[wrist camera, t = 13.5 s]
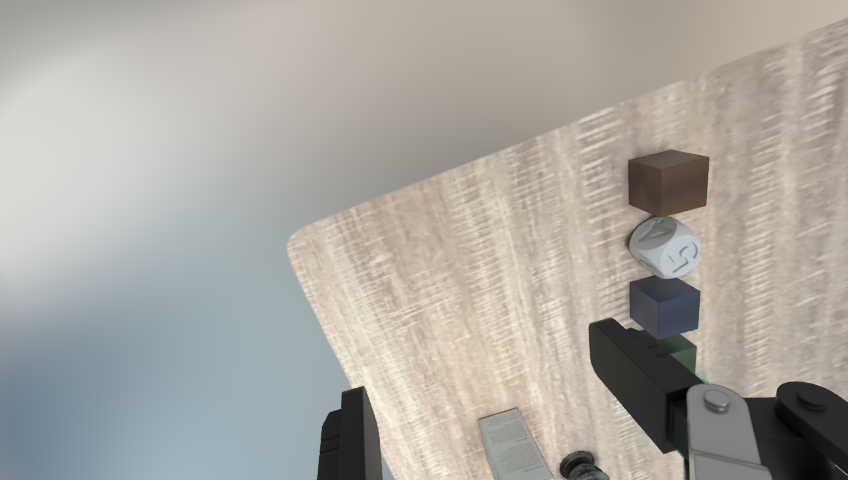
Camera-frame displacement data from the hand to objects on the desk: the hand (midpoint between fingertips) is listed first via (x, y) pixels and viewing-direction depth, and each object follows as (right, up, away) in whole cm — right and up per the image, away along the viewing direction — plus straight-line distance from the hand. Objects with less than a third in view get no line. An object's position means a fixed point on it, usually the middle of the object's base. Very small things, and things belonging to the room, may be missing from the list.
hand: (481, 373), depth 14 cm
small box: (+8, -21, +40) cm, 46 cm away
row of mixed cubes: (+25, +1, +34) cm, 42 cm away
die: (+24, +5, +33) cm, 41 cm away
